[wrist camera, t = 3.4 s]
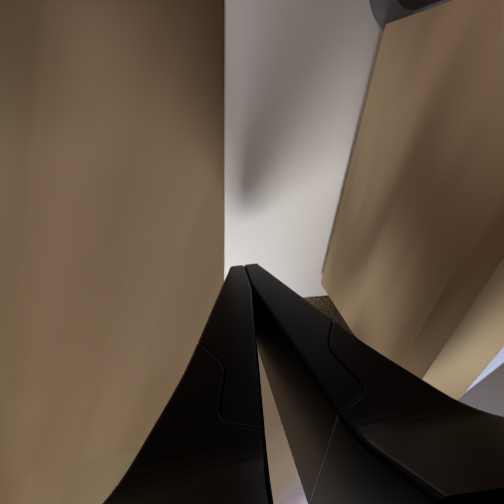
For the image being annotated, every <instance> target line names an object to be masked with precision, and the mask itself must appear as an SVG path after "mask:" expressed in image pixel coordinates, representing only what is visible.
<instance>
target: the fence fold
mask: <svg viewBox="0 0 504 504" xmlns="http://www.w3.org/2000/svg"><path fill="white" fill-rule="evenodd" d="M321 285H322V286H323V288H324V289H325V291H326V293H327V294H328V296H329V297H330V299H331V300H332V302H333V303H334V305H335V306H336V308H337V309H338V311H339V312H340V314H341V315H342V317H343V319H344V320H345V322H346V323H347V325H348V326H349V328H350V329H351V331H352V332H353V334H354V335H355V337H357V338H358V339H359V340H361V341H362V342H364V343H365V344H367V345H368V346H370V347H371V348H373V349H374V350H376V351H377V352H379V353H381V354H382V355H384V356H385V357H387V358H388V359H390V360H392V361H393V362H395V363H396V364H398V365H400V366H401V367H403V368H404V369H406V370H408V371H409V372H411V373H412V374H414V375H416V376H417V377H419V378H421V379H422V380H424V381H425V382H427V383H429V384H430V385H432V386H433V387H435V388H437V389H438V390H440V391H441V392H443V393H445V394H447V395H448V396H450V397H452V398H454V399H456V400H459V398H460V397H461V396H462V395H463V394H464V393H465V391H466V390H467V389H468V388H469V387H470V385H471V384H472V383H473V382H474V381H475V380H476V378H477V377H478V376H479V375H480V374H481V372H482V371H483V370H484V369H485V368H486V367H487V365H488V364H489V363H490V362H491V361H492V360H493V358H494V357H495V356H496V355H497V354H498V352H499V351H500V350H501V349H502V348H503V347H504V0H453V1H450V2H447V3H444V4H441V5H439V6H436V7H433V8H430V9H427V10H425V11H422V12H419V13H416V14H413V15H411V16H408V17H405V18H402V19H399V20H396V21H394V22H391V23H388V24H386V25H385V29H384V33H383V37H382V41H381V45H380V49H379V53H378V57H377V61H376V65H375V69H374V73H373V77H372V81H371V85H370V89H369V93H368V97H367V101H366V105H365V109H364V113H363V117H362V121H361V125H360V129H359V133H358V137H357V141H356V145H355V149H354V153H353V157H352V161H351V165H350V169H349V173H348V177H347V181H346V185H345V189H344V193H343V197H342V201H341V205H340V209H339V213H338V217H337V221H336V225H335V229H334V233H333V237H332V241H331V245H330V249H329V253H328V257H327V261H326V265H325V269H324V273H323V277H322V281H321Z"/></svg>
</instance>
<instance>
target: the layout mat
mask: <svg viewBox="0 0 504 504" xmlns="http://www.w3.org/2000/svg"><path fill="white" fill-rule="evenodd" d="M450 1H453V0H442V1H440V2H437V3H434V4H432V5H429V6H426V7H424V8H421V9H418V10H408V9H406V8H404V7H402V6H401V5H400V4H399V2H398V1H397V0H224V281H225V279H226V276H227V274H228V272H229V269H230V267H231V266H238V265H243V266H245V265H247V264H255V263H256V264H259V265H260V266H261V267H263V268H264V269H265V270H267V271H268V272H269V273H271V274H272V275H273V276H275V277H276V278H277V279H279V280H280V281H281V282H283V283H284V284H285V285H287V286H288V287H289V288H291V289H292V290H293V291H295V292H296V293H297V294H299V295H300V296H301V297H313V296H325V295H328V294H327V293H326V291H325V289H324V288H323V286H322V285H321V281H322V277H323V273H324V269H325V265H326V261H327V257H328V253H329V249H330V245H331V241H332V237H333V233H334V229H335V225H336V221H337V217H338V213H339V209H340V205H341V201H342V197H343V193H344V189H345V185H346V181H347V177H348V173H349V169H350V165H351V161H352V157H353V153H354V149H355V145H356V141H357V137H358V133H359V129H360V125H361V121H362V117H363V113H364V109H365V105H366V101H367V97H368V93H369V89H370V85H371V81H372V77H373V73H374V69H375V65H376V61H377V57H378V53H379V49H380V45H381V41H382V37H383V33H384V29H385V25H386V24H388V23H391V22H394V21H396V20H399V19H402V18H405V17H408V16H411V15H413V14H416V13H419V12H422V11H425V10H427V9H430V8H433V7H436V6H439V5H441V4H444V3H447V2H450Z"/></svg>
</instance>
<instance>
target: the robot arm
mask: <svg viewBox="0 0 504 504" xmlns="http://www.w3.org/2000/svg"><path fill="white" fill-rule="evenodd" d="M198 343H199V344H197V346H196V348H195V351H194V353H193V355H192V358H191V360H190V362H189V364H188V366H187V368H186V370H185V372H184V374H183V376H182V378H181V380H180V382H179V384H178V385H177V387H176V389H175V391H174V393H173V394H172V396H171V398H170V400H169V401H168V403H167V405H166V406H165V408H164V410H163V412H162V413H161V415H160V417H159V418H158V420H157V422H156V423H155V425H154V427H153V429H152V430H151V432H150V434H149V435H148V437H147V439H146V440H145V442H144V444H143V446H142V447H141V449H140V451H139V452H138V454H137V456H136V457H135V459H134V461H133V462H132V464H131V466H130V467H129V469H128V471H127V472H126V474H125V475H124V476H123V478H122V479H121V481H120V482H119V484H118V485H117V486H116V488H115V489H114V490H113V492H112V493H111V494H110V495H109V497H108V498H107V499H106V500H105V501H104V503H103V504H273V498H272V490H271V483H270V476H269V468H268V459H267V450H266V439H265V428H264V417H263V406H262V395H261V383H260V372H259V361H258V350H259V353H260V357H261V360H262V363H263V366H264V369H265V372H266V375H267V378H268V381H269V384H270V387H271V391H272V394H273V397H274V400H275V403H276V406H277V409H278V412H279V415H280V418H281V421H282V425H283V428H284V431H285V434H286V437H287V440H288V443H289V446H290V449H291V452H292V456H293V459H294V462H295V465H296V468H297V471H298V474H299V477H300V480H301V483H302V486H303V490H304V493H305V496H306V499H307V502H308V504H504V417H502V416H498V415H494V414H491V413H487V412H484V411H481V410H478V409H476V408H473V407H471V406H468V405H466V404H464V403H462V402H460V401H458V400H456V399H454V398H452V397H450V396H448V395H447V394H445V393H443V392H441V391H440V390H438V389H437V388H435V387H433V386H432V385H430V384H429V383H427V382H425V381H424V380H422V379H421V378H419V377H417V376H416V375H414V374H412V373H411V372H409V371H408V370H406V369H404V368H403V367H401V366H400V365H398V364H396V363H395V362H393V361H392V360H390V359H388V358H387V357H385V356H384V355H382V354H381V353H379V352H377V351H376V350H374V349H373V348H371V347H370V346H368V345H367V344H365V343H364V342H362V341H361V340H359V339H358V338H357V337H355V336H354V335H352V334H351V333H350V332H348V331H347V330H345V329H344V328H343V327H341V326H340V325H339V324H337V323H336V322H333V320H332V319H331V318H329V317H328V316H327V315H325V314H324V313H323V312H321V311H320V310H319V309H317V308H316V307H315V306H313V305H312V304H311V303H309V302H308V301H307V300H305V299H304V298H303V297H301V296H300V295H299V294H297V293H296V292H295V291H293V290H292V289H291V288H289V287H288V286H287V285H285V284H284V283H283V282H281V281H280V280H279V279H277V278H276V277H275V276H273V275H272V274H271V273H269V272H268V271H267V270H265V269H264V268H263V267H261V266H260V265H259V264H256V263H255V264H247V265H245V266H243V265H238V266H231V267H230V269H229V272H228V274H227V276H226V279H225V281H224V283H223V286H222V288H221V290H220V293H219V295H218V297H217V300H216V302H215V304H214V307H213V309H212V311H211V314H210V316H209V318H208V321H207V323H206V325H205V328H204V330H203V332H202V335H201V337H200V339H199V342H198ZM257 347H258V350H257Z"/></svg>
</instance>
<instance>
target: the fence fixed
mask: <svg viewBox="0 0 504 504" xmlns="http://www.w3.org/2000/svg"><path fill="white" fill-rule="evenodd" d="M397 1H398V2H399V4H400V5H401V6H402V7H404V8H406V9H408V10H418V9H421V8H424V7H426V6H429V5H432V4H434V3H437V2H440V1H442V0H397Z"/></svg>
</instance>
